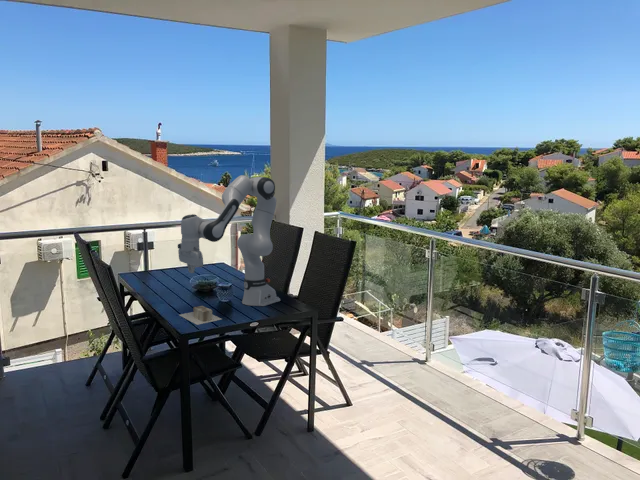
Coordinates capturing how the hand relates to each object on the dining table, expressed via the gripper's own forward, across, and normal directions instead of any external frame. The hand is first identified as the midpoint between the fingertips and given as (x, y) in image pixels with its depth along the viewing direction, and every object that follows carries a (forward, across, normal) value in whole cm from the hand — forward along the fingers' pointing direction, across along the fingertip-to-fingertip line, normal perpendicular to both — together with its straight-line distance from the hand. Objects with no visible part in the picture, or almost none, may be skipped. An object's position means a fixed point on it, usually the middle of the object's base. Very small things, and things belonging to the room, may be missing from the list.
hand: (191, 272), depth 247 cm
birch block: (+19, -7, 0) cm, 20 cm away
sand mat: (+22, -9, 0) cm, 24 cm away
